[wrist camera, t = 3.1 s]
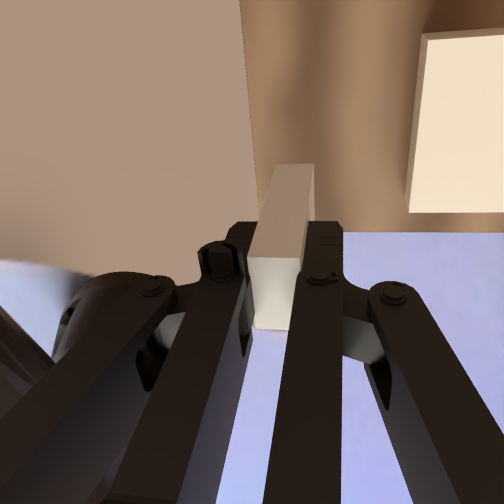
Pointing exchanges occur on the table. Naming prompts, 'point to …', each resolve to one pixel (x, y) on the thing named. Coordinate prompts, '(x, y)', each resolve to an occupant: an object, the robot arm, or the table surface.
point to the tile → (458, 124)
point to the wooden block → (349, 101)
